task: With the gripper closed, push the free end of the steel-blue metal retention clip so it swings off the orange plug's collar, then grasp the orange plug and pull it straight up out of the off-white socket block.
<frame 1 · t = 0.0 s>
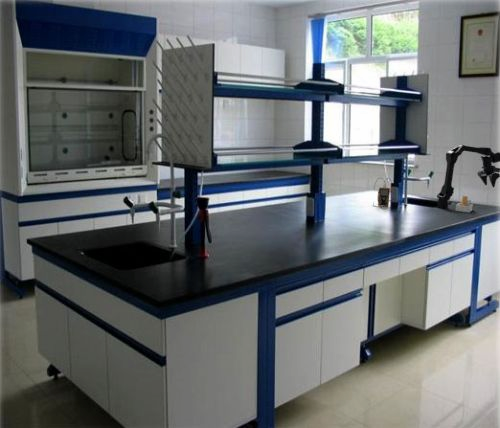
hand: (489, 186, 396), 15 cm above the table, tool pointing down, fingers open, 9 cm apart
plug: (464, 204, 385), point 4 cm above the table, touching socket block
socket block: (463, 210, 385), on the table
clip: (468, 202, 383), point 6 cm above the table, hinge at 0.0°
multimeter: (382, 207, 390), on the table
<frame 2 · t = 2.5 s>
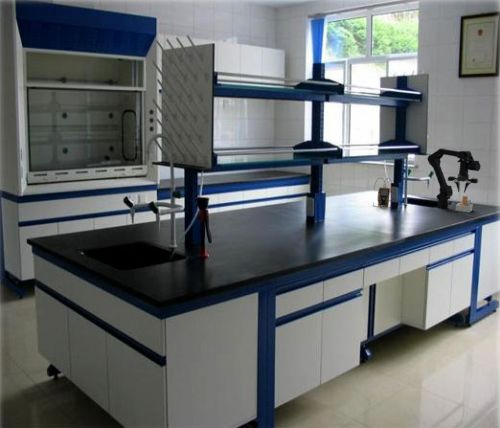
hand: (461, 192, 380), 13 cm above the table, tool pointing down, fingers open, 3 cm apart
nothing on the table moved.
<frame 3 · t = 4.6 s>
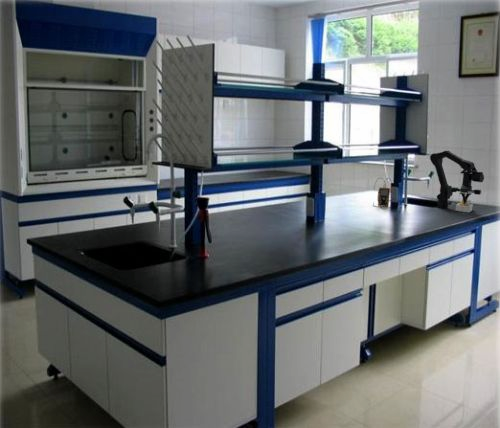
hand: (464, 203, 380), 6 cm above the table, tool pointing down, fingers closed
clip: (468, 202, 383), point 6 cm above the table, hinge at 0.0°, touching gripper
everything else where it was.
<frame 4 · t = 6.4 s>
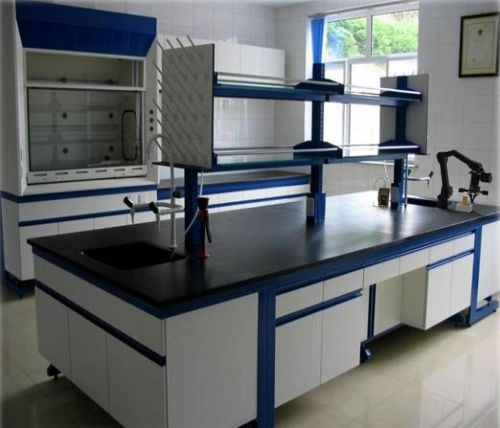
hand: (471, 203, 379), 6 cm above the table, tool pointing down, fingers closed
clip: (471, 203, 382), point 6 cm above the table, hinge at 29.5°, touching gripper
everything else where it was.
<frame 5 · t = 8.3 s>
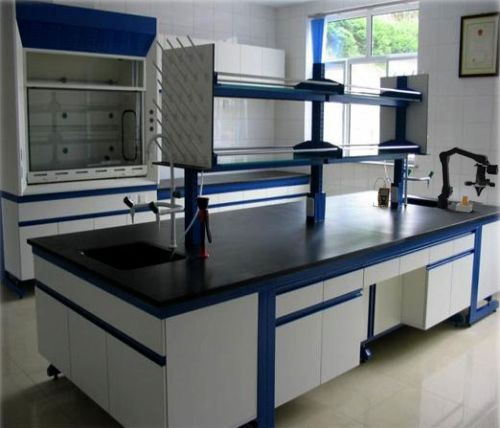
hand: (478, 196, 378), 11 cm above the table, tool pointing down, fingers closed
clip: (475, 203, 383), point 6 cm above the table, hinge at 58.3°
everything else where it was.
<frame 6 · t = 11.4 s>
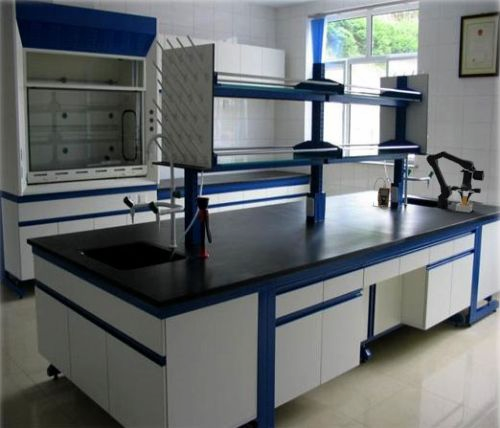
hand: (464, 201, 384), 6 cm above the table, tool pointing down, fingers closed on plug, 3 cm apart
plug: (464, 204, 385), point 4 cm above the table, touching gripper, socket block
everything else where it was.
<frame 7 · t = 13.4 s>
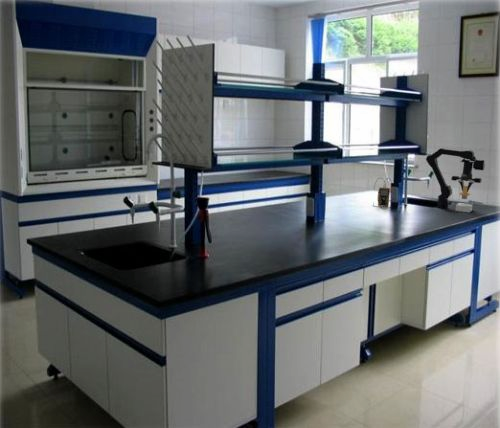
hand: (465, 191, 384), 13 cm above the table, tool pointing down, fingers closed on plug, 3 cm apart
plug: (464, 194, 384), point 11 cm above the table, touching gripper
everything else where it was.
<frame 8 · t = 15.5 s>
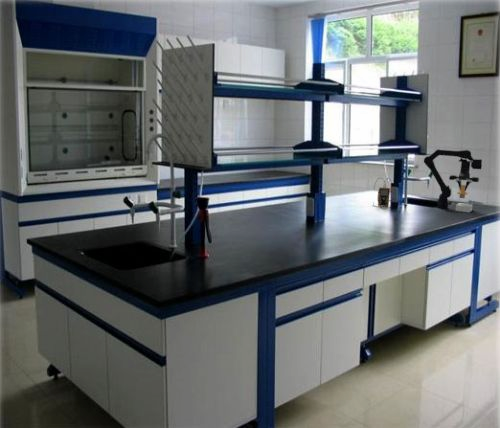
hand: (462, 190, 387), 13 cm above the table, tool pointing down, fingers closed on plug, 3 cm apart
plug: (462, 193, 387), point 11 cm above the table, touching gripper
everything else where it was.
at the end: clip at +58° (first picture: +0°); plug point 11.0 cm above the table; the gripper is holding plug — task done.
